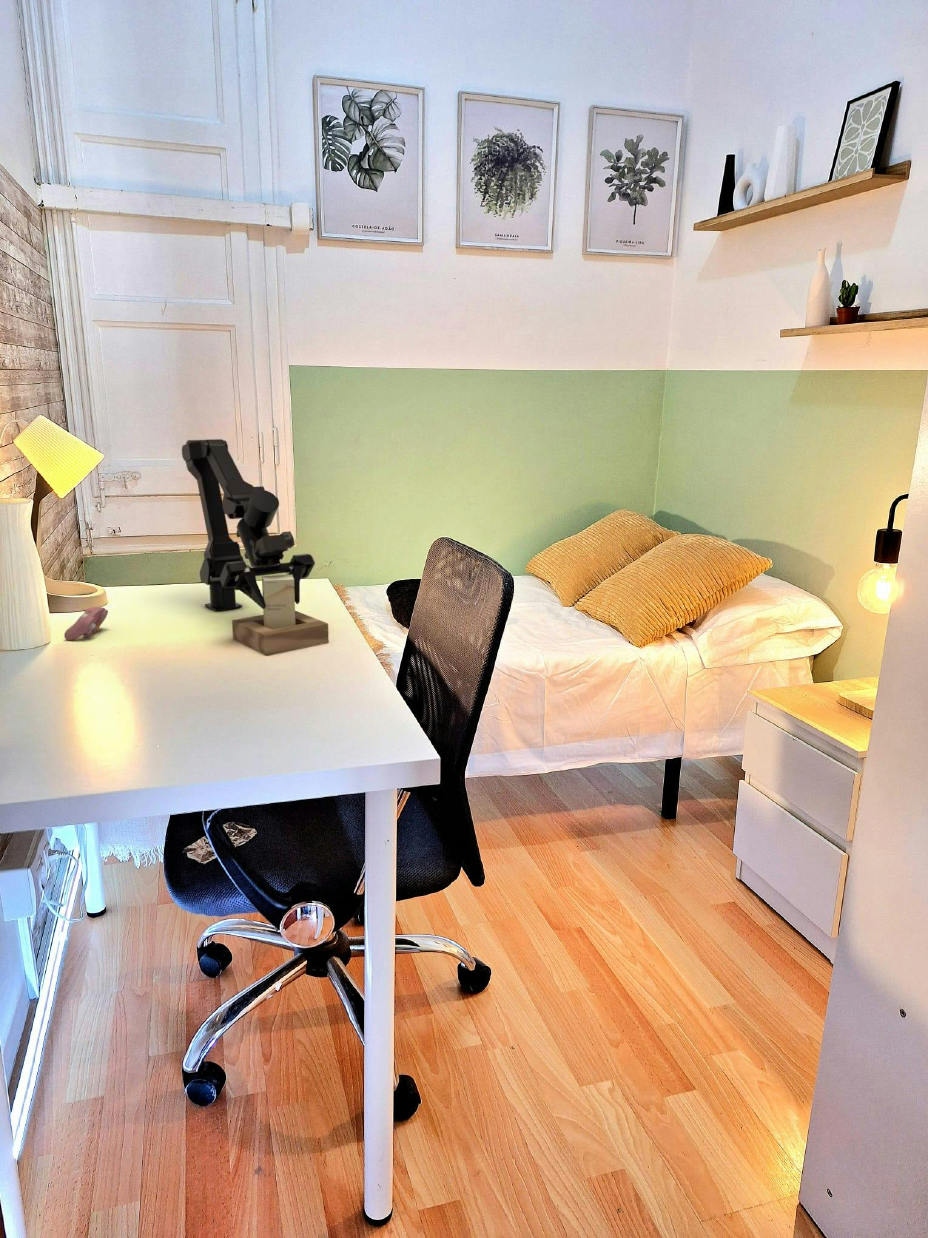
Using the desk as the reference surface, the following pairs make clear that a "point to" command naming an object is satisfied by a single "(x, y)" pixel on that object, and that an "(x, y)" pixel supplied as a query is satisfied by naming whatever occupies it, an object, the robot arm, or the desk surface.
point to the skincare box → (278, 601)
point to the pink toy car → (87, 623)
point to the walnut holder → (280, 634)
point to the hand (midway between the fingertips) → (281, 605)
